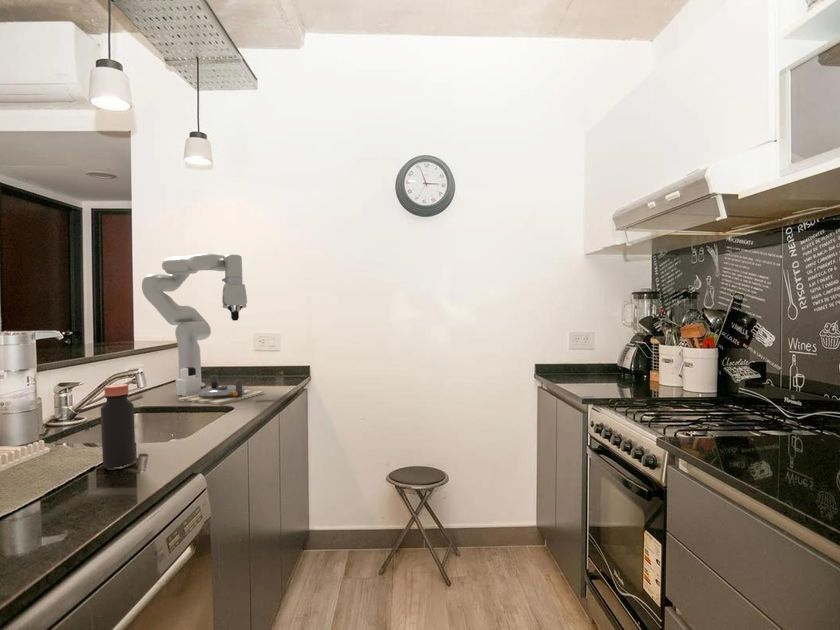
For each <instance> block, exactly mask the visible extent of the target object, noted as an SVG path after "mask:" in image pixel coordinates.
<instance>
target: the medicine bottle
mask: <svg viewBox="0 0 840 630" xmlns="http://www.w3.org/2000/svg"><path fill="white" fill-rule="evenodd" d="M180 373H181V379H178V378H177V380H176V379H175V380H176V382H175V384H176V385H175V389H176V395H177V396H178V395H182V396H181V397H185V396H191V395H195V394H199V390H201V389H202V387H201V383H202V381H201V382H200V378H195V376H196V369H195V368H193V367H187V368H182V369H181V370H180Z"/></svg>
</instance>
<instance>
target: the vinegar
mask: <svg viewBox="0 0 840 630" xmlns="http://www.w3.org/2000/svg"><path fill="white" fill-rule="evenodd" d="M129 393H130V392H129V384H128V383H119V384H117V383H116V384H110V385H105V386H104V398H105V399H106V401H105V402H104V404H103V405H102V406H101V407H100V423H101V424H100V425H101V426H100V427H101V428H100V429H101V449H102V450H101V451H102V467H103V466H104V467H106V468H114V467H120V466H124V465H127V464H130V463H133V462H134V461H135V460H137V459H136V436H135V411H134V410H135V409H134V403H133V402H132V401H130V400H129V399H128V396H129Z"/></svg>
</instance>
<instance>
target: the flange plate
mask: <svg viewBox="0 0 840 630" xmlns="http://www.w3.org/2000/svg"><path fill="white" fill-rule="evenodd" d="M210 381H211V382H210V385H211V386H209V387H204V388H201V390H199V395H200V396H204V397H219V396H229V395H231V396H236V395H238V392H237V391H236V384H235V385H234V384H233V385H232V384H229V385H227V384H226V385H225V384H224V385H219V380H218V375H211V376H210ZM244 390H245V386H243V385H242V392H244Z"/></svg>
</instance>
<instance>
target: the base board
mask: <svg viewBox="0 0 840 630" xmlns="http://www.w3.org/2000/svg"><path fill="white" fill-rule="evenodd" d="M235 385H236V391H237V392H238V395H236V396H231V395H229V396H219V397H204V396H200V395H199V394H195V395H191V396H186V397H185V396H181V397H178V398H177V401H178V400H184V401H183V402H185V401H192V402H191V403H195V402H199V403H198V404H206V405H216V406H223V405H226V404H229V403H233V402H237V400H238V401H241V399H242V400H245V399H244V398H246V399H249V398H248V397H250V398H253V397H257V396H260V395H259V394H261V395H264V394H265V391H261V390H252V389H251V390H249V389H244V392H242V386H243V379H236V380H235ZM263 393H264V394H263ZM256 395H257V396H256ZM252 396H253V397H252Z"/></svg>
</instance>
